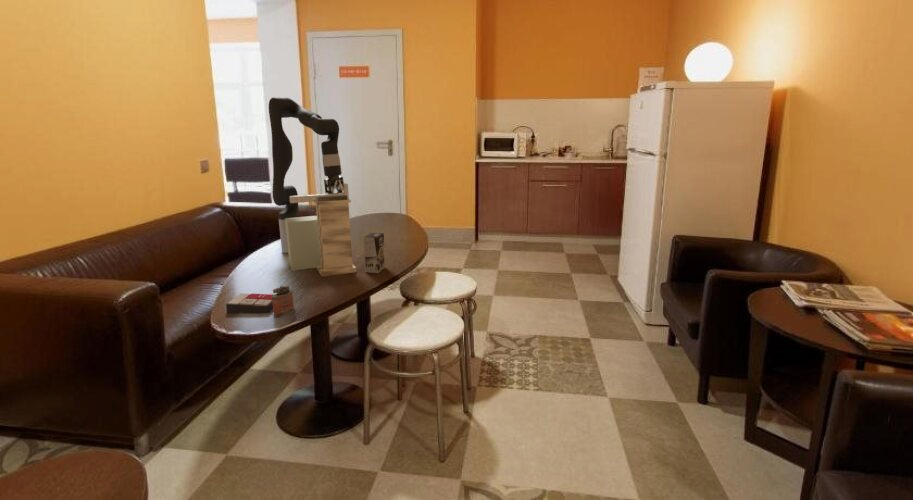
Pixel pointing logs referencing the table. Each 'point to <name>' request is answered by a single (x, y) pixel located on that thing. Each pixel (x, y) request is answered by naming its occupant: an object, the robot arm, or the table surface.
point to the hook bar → (318, 196)
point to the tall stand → (334, 236)
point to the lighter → (282, 301)
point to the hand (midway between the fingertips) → (336, 200)
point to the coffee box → (374, 252)
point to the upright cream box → (303, 242)
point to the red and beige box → (251, 304)
